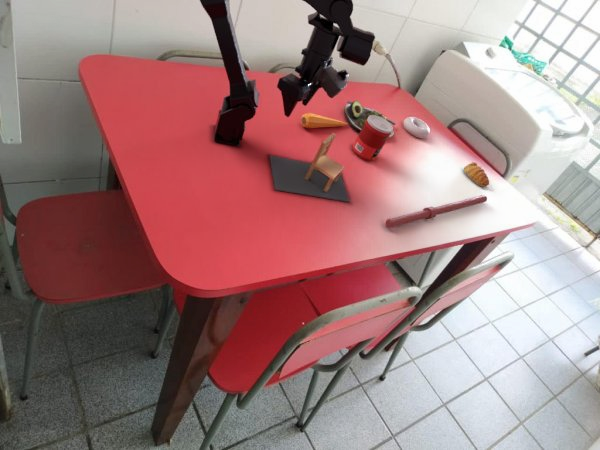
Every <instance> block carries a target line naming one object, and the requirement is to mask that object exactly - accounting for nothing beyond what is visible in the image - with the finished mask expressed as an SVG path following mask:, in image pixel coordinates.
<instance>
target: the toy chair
mask: <svg viewBox="0 0 600 450" xmlns="http://www.w3.org/2000/svg"><path fill="white" fill-rule="evenodd" d="M335 138H336V133H334V132H332V133H331V134H330V135H329V136H328V137H327V138H326V139H325V140H322V142H321V143H320V145H319V147H318V150H317V152H316V154H315V156H314V157H313V159H312V162H311V163H312V164H311V166H310V168H309V170H308V173H307V175H306V177H305V178H306V179H307V180H308V179H309V178H310V176H311V174H312V172H313V170H314V168H315V170H317V171H318V170H319V171H320V172H322V173H323V174H325V175H326V176H328V177H330V179H329V181H328V183H327V185H326V186H325V188H324V191H325V192H327V191H328V189H329V187H330V186H331V184H332V182H333V181H334V182H336V181H337V179H338V177H339V176H340V174H341V175H342V172H343V170H344V169H345V166H344V165H342V164H341V163H339V162H337V161H335V160H334V159H333V158H331V157H329V156H328V155H327V154H328V151H329V149H330V147H331V146H332V144H333V142H334V139H335Z"/></svg>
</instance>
